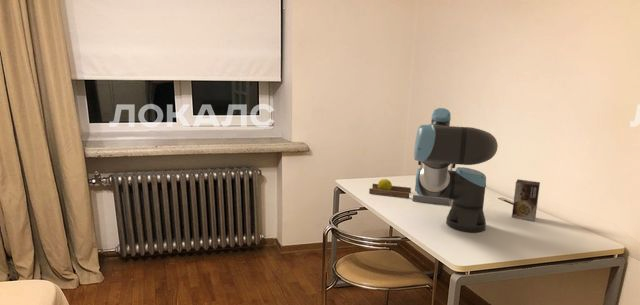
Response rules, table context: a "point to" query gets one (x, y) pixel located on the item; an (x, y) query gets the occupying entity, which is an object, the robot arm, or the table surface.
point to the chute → (391, 191)
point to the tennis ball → (384, 184)
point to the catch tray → (430, 199)
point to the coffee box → (525, 199)
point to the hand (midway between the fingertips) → (435, 170)
